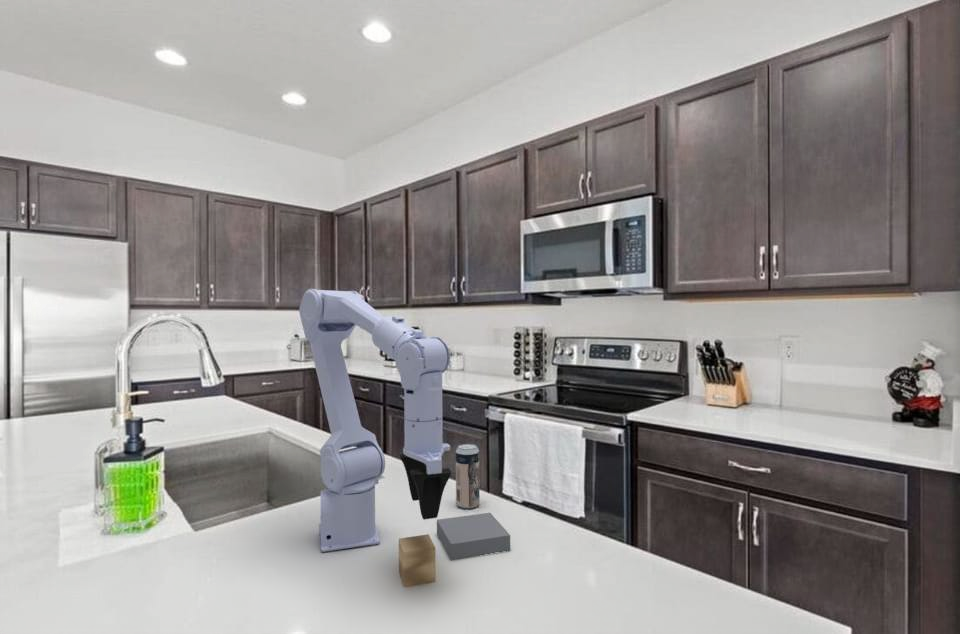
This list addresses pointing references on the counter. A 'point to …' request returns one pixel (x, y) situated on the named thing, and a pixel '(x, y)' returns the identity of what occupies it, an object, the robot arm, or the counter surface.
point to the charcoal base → (472, 536)
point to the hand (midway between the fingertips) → (424, 508)
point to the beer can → (467, 476)
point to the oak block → (417, 560)
